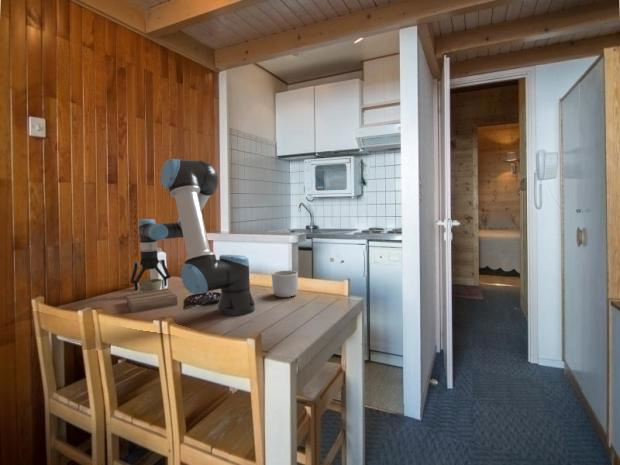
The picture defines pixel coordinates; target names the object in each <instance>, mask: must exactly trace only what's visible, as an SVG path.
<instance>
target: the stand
mask: <svg viewBox="0 0 620 465" xmlns="http://www.w3.org/2000/svg"><path fill="white" fill-rule="evenodd" d="M177 296H178V295H176V294H175V293H174V292H173V291H171V289H169V288H165V289H161V290H155V291H148V292H143V291H142V292H140V293H137V292H135V293H131V294H129V293H128V294H126V304H127V306H128V308H129V310H130V311H131V313H132V314H133V313H140V312H145V311H146V312H147V311H150V310H157V309H162V308H168V307H175V306H178V297H177Z"/></svg>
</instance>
